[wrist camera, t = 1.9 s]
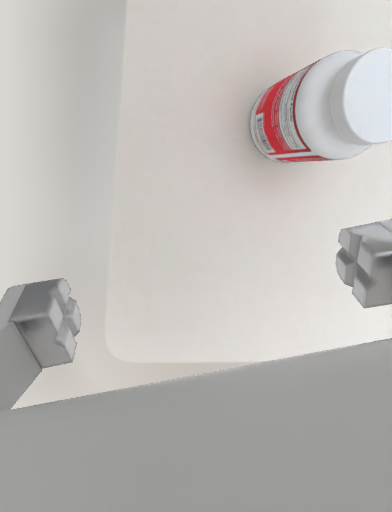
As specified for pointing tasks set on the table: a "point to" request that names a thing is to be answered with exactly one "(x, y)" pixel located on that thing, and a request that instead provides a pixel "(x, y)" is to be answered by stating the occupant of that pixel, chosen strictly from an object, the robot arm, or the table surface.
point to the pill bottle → (327, 109)
